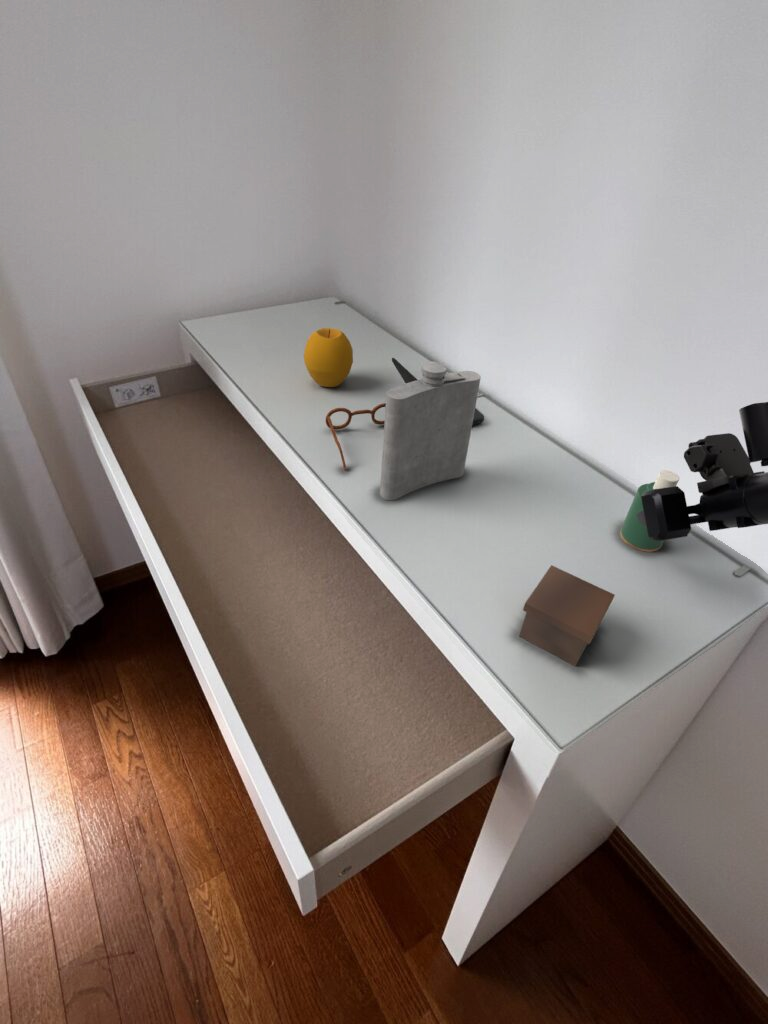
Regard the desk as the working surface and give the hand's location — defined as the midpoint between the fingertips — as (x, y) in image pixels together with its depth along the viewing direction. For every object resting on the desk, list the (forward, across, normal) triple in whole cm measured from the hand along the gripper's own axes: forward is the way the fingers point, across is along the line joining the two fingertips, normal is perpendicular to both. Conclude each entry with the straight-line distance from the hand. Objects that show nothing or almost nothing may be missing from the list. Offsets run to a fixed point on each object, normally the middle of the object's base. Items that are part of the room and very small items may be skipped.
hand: (666, 513), depth 79 cm
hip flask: (+20, +28, -11) cm, 36 cm away
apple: (+45, +36, -36) cm, 68 cm away
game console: (+36, +18, -26) cm, 48 cm away
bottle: (+6, 0, +3) cm, 6 cm away
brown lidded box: (-3, +21, +12) cm, 25 cm away
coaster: (+6, 0, +3) cm, 7 cm away
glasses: (+28, +34, -19) cm, 48 cm away
